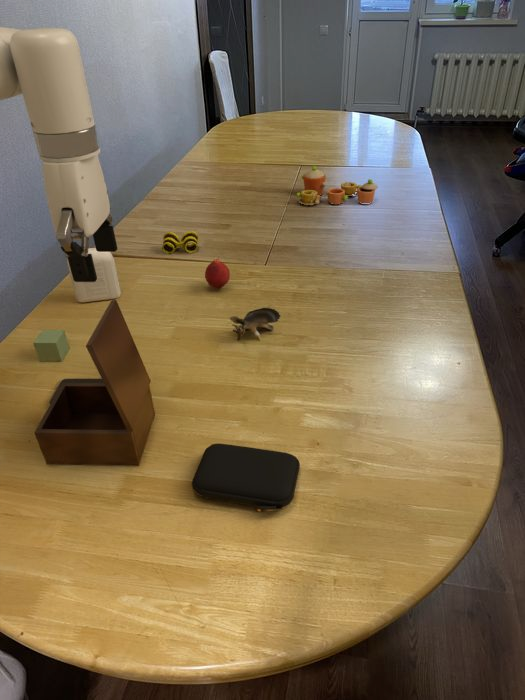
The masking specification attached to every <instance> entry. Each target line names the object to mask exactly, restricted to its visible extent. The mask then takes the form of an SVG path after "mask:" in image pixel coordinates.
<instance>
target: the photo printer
mask: <svg viewBox="0 0 525 700" xmlns="http://www.w3.org/2000/svg"><path fill="white" fill-rule="evenodd" d="M88 254H92V258H93V263H94V267H95V271H96V275H97V280H96V281H95V282H75V281H74V280H73V276H72V272H71V269H70V265H69V261H68V259H67V260H66V264H67V268H68V271H69V272H68V273H69V276H70V280H71V283H72V284H71V285H72V287H73V292H74V295H75V299H76V302H78V303H89V302H98V301H108V300H116V299H118V298H120V297H121V296H122V292H121V287H120V283H119V278H118V273H117V267H116V262H115V258H114V256H113V254H112V252H98V251H97V250H96V247H90V248H89V247H88Z"/></svg>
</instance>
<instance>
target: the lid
mask: <svg viewBox="0 0 525 700" xmlns="http://www.w3.org/2000/svg"><path fill="white" fill-rule="evenodd" d="M85 348H86V349H87V352H88V354H89V356H90V357H91V360H92V362H93V364H94V366H95V368H96V370H97V372H98V374H99V376H100V379H102V380H103V382H104V384H105V386H106V388H107V390H108V392H109V394H110V396H111V398H112V400H113V402H114V404H115V406H116V408H117V410H118V412H119V414H120V416H121V418H122V420H123V422H124V424H125V426H126V429H127V431H128V432H129V431H133V429H134V427H135V424H136V421H137V418H138V415H139V413H140V410H141V407H142V404H143V401H144V399H145V396H146V393H147V390H148V387H149V386H150V384H151V382H152V381H151V377H150V376H149V373H148V371H147V368H146V367H145V363H144V362H143V359H142V357H141V355H140V352H139V349H138V348H137V345H136V343H135V340H134V339H133V336H132V334H131V331H130V328H129V326H128V324H127V322H126V320H125V317H124V315H123V312H122V310H121V308H120V305H119V303H118V301H117V299H111V300H110V301H109V304H108V306H107V307H106V309H105V311H104V313H103V314H102V316H101V318H100V320H99V322H98V323H97V325H96V327H95V329H94V330H93V332H92V334H91V336H90V338H89V339H88V341H87V342H86V344H85Z"/></svg>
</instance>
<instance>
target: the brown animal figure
mask: <svg viewBox="0 0 525 700" xmlns="http://www.w3.org/2000/svg"><path fill="white" fill-rule="evenodd" d="M281 316H282V315H281V314H280V312H278V310H276V309H275V308H270V307H261V308H257V309H253V310H249V311H248V312H247V313H246V314H245V316H244V317H243V318H240V317H239V316H236V315H233V316H229V320H230V321H231V322H232V323H234V324H231V326H233V327H235V328H234V329H232V332H233V333H235V334H236V335H237V338H236V341H240V340H241V339H242V338H243V336H244V334H245V333H247V332H249V333H250V334H251V335H253V336H255V338H257V339H258V341H261V334H260V332H259V331H258V330H257V329H258V328H259V329H267V330H270V331H273V330H275V328H274V326H273V325H271V324H273V323H278V321H279V319H281Z"/></svg>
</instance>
